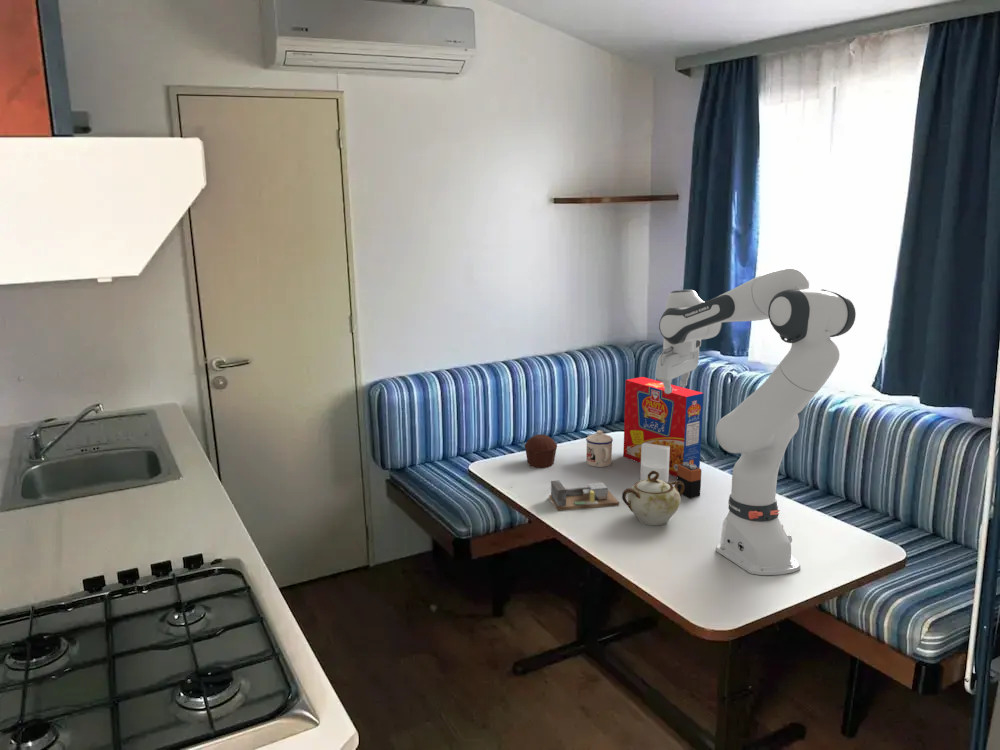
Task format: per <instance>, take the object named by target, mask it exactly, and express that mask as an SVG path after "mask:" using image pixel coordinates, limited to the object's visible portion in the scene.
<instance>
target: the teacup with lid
mask: <svg viewBox="0 0 1000 750" xmlns="http://www.w3.org/2000/svg"><path fill="white" fill-rule="evenodd" d="M613 440H614V439H613V437H612V436H610V435H608V434H606V433H603V430H598V429H597V430H596V432H595V433H593V434H589V435H588V436H587V437H586V458H585V459H586V464H587V465H589V466H590V467H598V468H602V467H608V466H610V465H611V464H612V457H613V455H612V454H613Z"/></svg>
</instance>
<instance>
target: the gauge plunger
mask: <svg viewBox="0 0 1000 750" xmlns="http://www.w3.org/2000/svg"><path fill="white" fill-rule="evenodd" d="M586 487H587V489H584V490H582V494H583V496H584V495H588V497H589V498H590V491H594V492H595V495H594V500H601V499H607V493H608V490H609V488H608V487H607V485H606V484H605V483H604V482H595V483H587V486H586Z"/></svg>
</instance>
